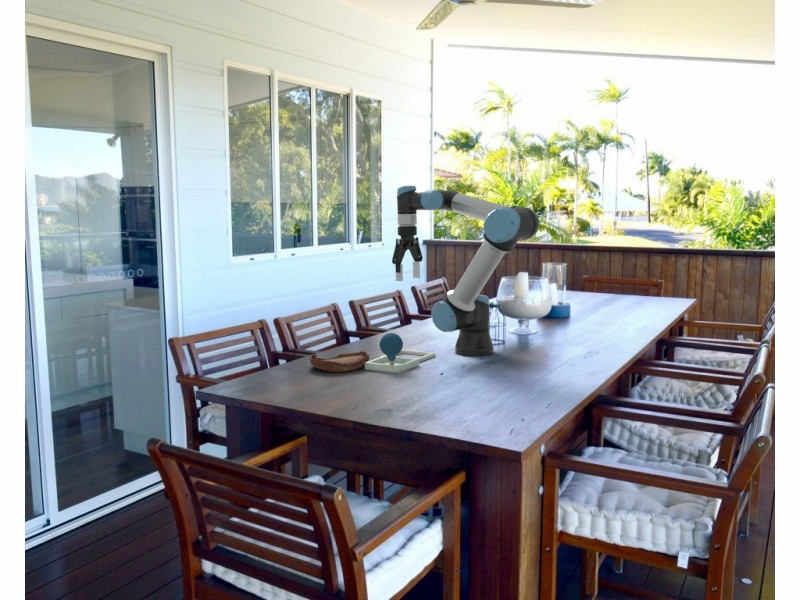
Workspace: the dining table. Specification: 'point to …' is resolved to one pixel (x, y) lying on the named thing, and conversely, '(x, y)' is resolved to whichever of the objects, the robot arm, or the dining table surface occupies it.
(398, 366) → the tray
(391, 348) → the light bulb
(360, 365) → the basket
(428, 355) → the pale square frame
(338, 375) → the dining table surface
